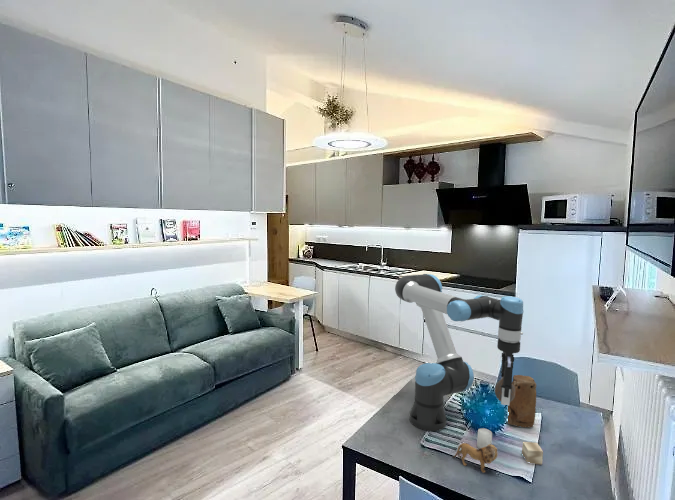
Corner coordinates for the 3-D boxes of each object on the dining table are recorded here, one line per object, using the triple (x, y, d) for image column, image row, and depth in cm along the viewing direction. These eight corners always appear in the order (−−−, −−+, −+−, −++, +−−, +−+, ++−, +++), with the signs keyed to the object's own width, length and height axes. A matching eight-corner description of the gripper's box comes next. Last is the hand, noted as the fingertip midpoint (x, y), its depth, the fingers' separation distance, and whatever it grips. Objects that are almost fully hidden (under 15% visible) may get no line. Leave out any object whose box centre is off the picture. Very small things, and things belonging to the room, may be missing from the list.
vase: (515, 406, 135) (517, 383, 135) (494, 402, 138) (496, 379, 137) (513, 397, 142) (515, 375, 141) (493, 394, 144) (495, 372, 143)
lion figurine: (496, 467, 131) (498, 442, 130) (495, 476, 126) (497, 451, 125) (452, 454, 137) (454, 431, 136) (450, 463, 132) (452, 439, 131)
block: (528, 419, 162) (532, 375, 160) (535, 429, 154) (539, 382, 152) (502, 417, 163) (505, 373, 161) (508, 427, 156) (511, 380, 153)
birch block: (527, 463, 133) (528, 450, 133) (521, 454, 138) (522, 441, 138) (542, 464, 133) (543, 451, 132) (536, 455, 138) (537, 442, 137)
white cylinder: (476, 449, 140) (477, 434, 140) (476, 441, 145) (477, 427, 144) (491, 452, 139) (492, 437, 138) (490, 445, 143) (492, 430, 143)
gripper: (523, 350, 127) (518, 415, 129) (517, 332, 145) (513, 389, 148) (499, 347, 129) (494, 410, 132) (496, 330, 148) (492, 386, 150)
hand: (504, 399), depth 140 cm, fingers closed on vase, 7 cm apart
